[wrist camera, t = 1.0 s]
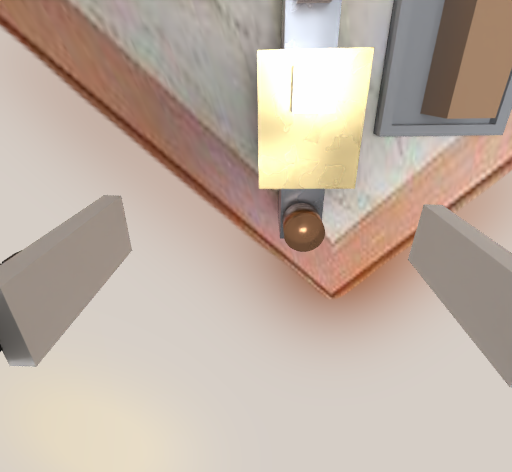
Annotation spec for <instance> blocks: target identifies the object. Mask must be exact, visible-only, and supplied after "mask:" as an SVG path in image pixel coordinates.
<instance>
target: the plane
mask: <svg viewBox="0 0 512 472" xmlns="http://www.w3.org/2000/svg"><path fill="white" fill-rule="evenodd" d="M341 4H342V0H282V21H281V49H321V48H337V47H338V36H339V26H340V15H341ZM324 190H325V189H278V219H279V231H280V238H285V241H286V243H287V244H288V246H289V247H291V248H292V249H294V250H296V251H301V252H306V251H310V250H313V249H315V248H316V247H318V246H319V245H320V244H321V243H322V241H323V239H324V236H325V229H324V226H323V223H322V211H323V201H324Z"/></svg>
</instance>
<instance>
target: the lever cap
mask: <svg viewBox="0 0 512 472" xmlns="http://www.w3.org/2000/svg"><path fill="white" fill-rule="evenodd" d="M373 53H374V47H366V48H321V49H277V50H257V83H258V164H259V189H355V183H356V175H357V168H358V161H359V154H360V147H361V139H362V132H363V125H364V118H365V111H366V103H367V96H368V89H369V82H370V75H371V67H372V60H373Z"/></svg>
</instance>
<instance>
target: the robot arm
mask: <svg viewBox="0 0 512 472" xmlns="http://www.w3.org/2000/svg"><path fill="white" fill-rule="evenodd" d="M131 251H132V249H131V244H130V238H129V234H128V228H127V223H126V218H125V213H124V208H123V203H122V198H121V196H108V195H104V196H102V197H101V198H99V199H98V200H96V201H95V202H93V203H92V204H90V205H89V206H87V207H86V208H85V209H83V210H82V211H80V212H79V213H77V214H76V215H74V216H73V217H71V218H70V219H68V220H67V221H65V222H64V223H62V224H61V225H59V226H58V227H56V228H55V229H53V230H52V231H50V232H49V233H48V234H46V235H44V236H43V237H42V238H40V239H38V240H37V241H35V242H34V243H32V244H31V245H30V246H28V247H27V248H25V249H24V250H21V251H19V252H17V253H15V254H13V255H12V256H10V257H9V258H7V259H6V260H4V261H3V262H2V264H0V352H1V351H3V353H4V355H5V357H6V359H7V361H8V363H9V365H11V366H33V367H36V366H37V365H38V364H39V363H40V361H41V360H42V359H43V358H44V357H45V355H46V354H47V353H48V352H49V351H50V349H51V348H52V347H53V346H54V345H55V343H56V342H57V341H58V340H59V338H60V337H61V336H62V335H63V334H64V332H65V331H66V330H67V329H68V327H69V326H70V325H71V324H72V323H73V321H74V320H75V319H76V318H77V316H78V315H79V314H80V313H81V312H82V310H83V309H84V308H85V307H86V306H87V304H88V303H89V302H90V301H91V300H92V298H93V297H94V296H95V295H96V293H97V292H98V291H99V290H100V288H101V287H102V286H103V285H104V284H105V283H106V281H107V280H108V279H109V277H110V276H111V275H112V274H113V273H114V272H115V270H116V269H117V268H118V267H119V265H120V264H121V263H122V262H123V261H124V259H125V258H126V257H127V256H128V254H129V253H130V252H131ZM408 260H409V261H410V263H411V264H412V265H413V266H414V268H415V269H416V270H417V271H418V273H419V274H420V275H421V276H422V278H423V279H424V280H425V281H426V283H427V284H428V285H429V287H430V288H431V289H432V290H433V291H434V293H435V294H436V295H437V297H438V298H439V299H440V300H441V302H442V303H443V304H444V305H445V307H446V308H447V309H448V310H449V312H450V313H451V314H452V315H453V317H454V318H455V319H456V320H457V322H458V323H459V324H460V325H461V327H462V328H463V329H464V330H465V332H466V333H467V334H468V335H469V336H470V338H471V339H472V340H473V342H474V343H475V344H476V345H477V347H478V348H479V349H480V350H481V351H482V353H483V354H484V355H485V356H486V358H487V359H488V360H489V362H490V363H491V364H492V365H493V367H494V368H495V369H496V370H497V372H498V373H499V374H500V375H501V377H502V378H503V379H504V380H505V382H506V383H507V384H508V385H509V387H512V253H511V252H509V251H508V250H506V249H505V248H503V247H502V246H501V245H499V244H498V243H496V242H495V241H493V240H492V239H490V238H489V237H487V236H486V235H485V234H483V233H482V232H480V231H479V230H477V229H476V228H475V227H473V226H472V225H470V224H469V223H467V222H466V221H464V220H463V219H461V218H460V217H459V216H457V215H456V214H454V213H453V212H451V211H450V210H449V209H447V208H446V207H444V206H443V205H424V206H423V210H422V213H421V216H420V220H419V223H418V227H417V230H416V234H415V237H414V241H413V244H412V248H411V251H410V255H409V258H408Z"/></svg>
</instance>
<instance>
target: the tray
mask: <svg viewBox="0 0 512 472" xmlns="http://www.w3.org/2000/svg"><path fill="white" fill-rule="evenodd" d="M511 109H512V0H394V4H393V10H392V16H391V23H390V29H389V36H388V42H387V49H386V55H385V62H384V68H383V74H382V81H381V87H380V94H379V100H378V107H377V113H376V120H375V126H374V134H376V135H378V136H457V135H503V132H504V129H505V126H506V123H507V121H508V118H509V115H510V112H511Z"/></svg>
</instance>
